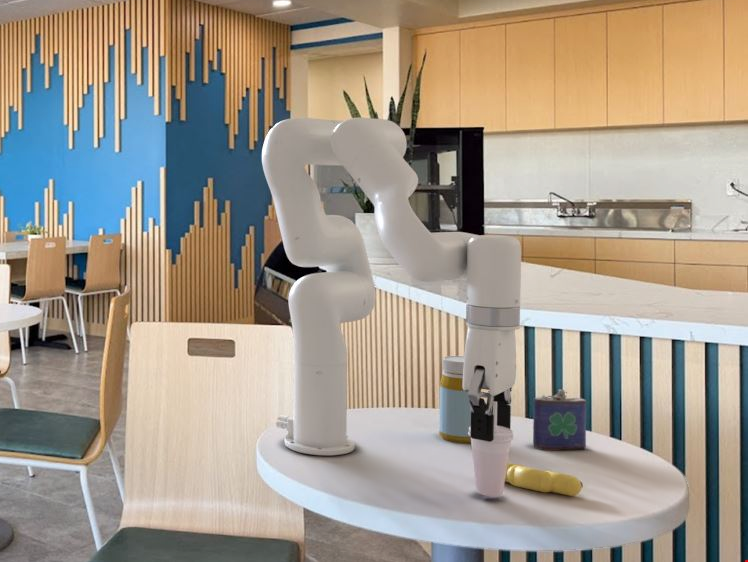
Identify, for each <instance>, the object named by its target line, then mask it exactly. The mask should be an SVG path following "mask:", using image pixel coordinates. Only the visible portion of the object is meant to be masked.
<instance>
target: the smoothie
mask: <svg viewBox="0 0 748 562" xmlns="http://www.w3.org/2000/svg"><path fill="white" fill-rule="evenodd" d="M493 415H494V439H493V441H491V442H488V441H483V440H478V439H473V438H471V442H470V445H471V453H472V462H473V472H474V480H475V481H474V482H475V489H476V492H477V493H478V494H479V495H481V496H484V497H485V496H486V497H493V498H496V497H502V496H503V495H504V488H505V476H506V470H507V463H509V455H510V450H511V444H512V443H511V442H512V440H514V430H512V429H511V428H510V429H509V428H506V427H503V426H498V425H497V402H496V401H493ZM468 434H469V436H471V426H470V427H469V432H468Z"/></svg>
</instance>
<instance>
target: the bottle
mask: <svg viewBox="0 0 748 562" xmlns="http://www.w3.org/2000/svg"><path fill="white" fill-rule="evenodd" d="M463 366H464V355H463V356H462V355H447V356H444V357H442V376H441V379H440V381H439V412H438V413H439V415H438V417H439V419H438V420H439V421H438V422H439V423H438V424H439V425H438V430H439V431H438V433H439V435H440V436H441V438H442V439H444V440H445V441H449V442H454V443H462V444H464V443H466V444H469V443H471V436H469V434H468V432H469V427H470V426H471V412H470V406H471V404H470V398H469V396H468V392H465V391H464V390H463V387H462V385H463Z"/></svg>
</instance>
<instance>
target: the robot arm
mask: <svg viewBox="0 0 748 562" xmlns="http://www.w3.org/2000/svg"><path fill="white" fill-rule="evenodd" d="M407 142H408V141H407V138H406V134H405V132H404V131H403V129H402V128H401V127H400V126H399V125H398V124H397V123H395V122H394V121H392V120H389V119H386V118H385V119H384V118H373V117H358V116H357V117H352V118H347V119H345V120H335V119H334V120H333V119H322V118H311V117H310V118H309V117H292V118H286V119H284V120H280V121H279V122H277V123H276V124H274V126H272V127H271V129H270V130H269V131H268V133H267V135H266V136H265V139H264V141H263V146H262V149H261V164H262V165H261V166H262V170H263V173H264V176H265V180H266V182H267V185H268V188H269V191H270V194H271V196H272V200H273V204H274V209H275V213H276V214H275V215H276V219H277V223H278V227H279V231H280V235H281V240H282V244H283V249H284V252H285V254H286V257H287V259H288V260H289V262H290V263H291V264H292V265H295V266H297V267H301V268H317V267H325V270H326V271H325V272H314V273H310V274H306V275H304V276H302V277H300V278H298V279H297V280H296V281H295V282H294V283H293V284H292V286H291V288H290V290H289V293H288V298H287V299H288V310H289V316H290V320H291V327H292V328H291V329H292V339H293V340H292V342H293V401H292V402H293V405H292V407H293V408H292V409H293V410H292V411H293V412H292V414H293V416H292V417H290V416H289V415H283V414H279V415H278V417H277V420H276V422H275V426H276V428H278V429H282V430H283V429H285V430H286V431H287V434H286V435H285V436H284V445H285V447H287V448H288V449H289V450H292V451H294V452H297V453H301V454H306V455H311V456H312V455H313V456H340V455H345V454H349V453H351V452H353V451H354V450H355V449H356V441H355V439H354V438H352V437H351V436H348V435H347V425H348V424H347V422H348V421H347V420H348V418H347V417H348V416H347V415H348V412H347V410H348V407H347V406H348V350H347V349H348V348H347V343H346V340H345V337H344V334H343V332H342V329H341V326H340V324H345V323H352V322H357V321H361V320H363V319H365V318H367V317H369V315H371V313H372V312H373V310H374V308H375V306H376V300H377V293H376V292H377V291H376V285H375V282H374V277H373V274H372V270H371V266H370V261H369V258H368V253H367V250H366V245H365V242H364V238H363V235H362V234H361V231H360V229H359V227H357V225H356V224H355V223H354V222H353V221H352V220H351V219H350V218H348V217H346V216H344V215H339V214H326V212H325V209H324V207H323V203H322V199H321V195H320V191H319V188H318V186H317V183H316V182H315V181H314V179H313V178H312V176H311V175H310V174H309V172H307V170H306V165H310V166H343V167H344V169H345V170H346V171H347V173H348V174H349V175H350V176H351V178H352V180H353V181H354V182H355V183H356V184H357V185H358V186H359V188H360V189H361V191H362V192H363V193H364V194H365V196H366V197H367V198H368V200H369V201H370V203H371V204H372V205H373V207H374V215H373V216H374V223H375V226H376V230H377V234H378V236H379V239H380V241H381V243H382V244H383V246H384V248H385V249H386V250H387V251H388V253H389V254H390V255H391V257H392V258H393V259H394V260H395V262H396V263H397V264H398V266H400V268H401V269H402V270H403V271H404V272H405V273H406V274H408V275H409V276H410V277H412V278H413V279H415V280H417V281H420V282H426V283H429V282H431V283H432V282H440V281H453V280H460V279H462V280H463V279H466V298H465V299H466V300H465V301H466V302H465V303H466V308H465V310H466V311H465V326H466V327H468V328H467V332H466V338H465V345H464V355H463V356H464V366H463V385H462V387H463V390H464V391H465V392H468V396H469V398H470V404H471V406H470V412H471V438H473V439H478V440H483V441H488V442H491V441H493V439H494V415H493V401H496V402H497V425H498V426H503V427H506V428H509V429H511V419H512V418H511V417H512V416H511V414H512V413H511V411H512V405H511V404H512V395H511V393H512V391H513V387H514V386H515V384H516V378H517V377H516V376H517V341H516V330H520V329H521V287H522V286H521V283H522V281H521V280H522V279H521V278H522V245H521V241H520V240H519V239H518V238H517V237H515V236H512V235H502V234H481V235H479V234H474V233H469V232H463V231H439V232H431V231H430V230H429V229H428V228H427V227H426V226H425V225H424V223H423V222H422V221H421V219H419V217H418V216H417V214H416V213H415V211H414V210H413V208H412V206H411V204H410V200H409V198H410V197H411V196H412V194H413V193H414V192H415V191H416V189H417V187H418V184H419V177H418V174H417V173H416V171H415V170H414V169H413V168H412V166H410V165H409V163H408V162H407V161H406V160H405V158H404V156H405V155H406V151H407V148H408V147H407V146H408V145H407ZM482 390H485V391H487V392H485V391H482ZM484 398H485V399H486V401H485V399H484Z"/></svg>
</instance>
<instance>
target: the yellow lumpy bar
mask: <svg viewBox="0 0 748 562" xmlns="http://www.w3.org/2000/svg"><path fill="white" fill-rule="evenodd" d="M505 482H506V483H509V484H511V486H514V487H517V488H522V489H527V490H531V491H535V492H536V491H537V492H541V493H549V492H551V493H555V494H561V495H565V496H570V497H572V496H573V497H574V496H577V495H579V494H580V493H581V491H582V488H583V487H584V485H583V482H582V481H581V480H580V479H579V478H578V477H576V476H575V475H570V474H565V473H561V472H556V471H552V470H544V469H543V470H542V469H538V468H537V469H536V468H532V467H527V466H523V465H521V464H516V463H512V462H508V463H507V470H506V476H505Z"/></svg>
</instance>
